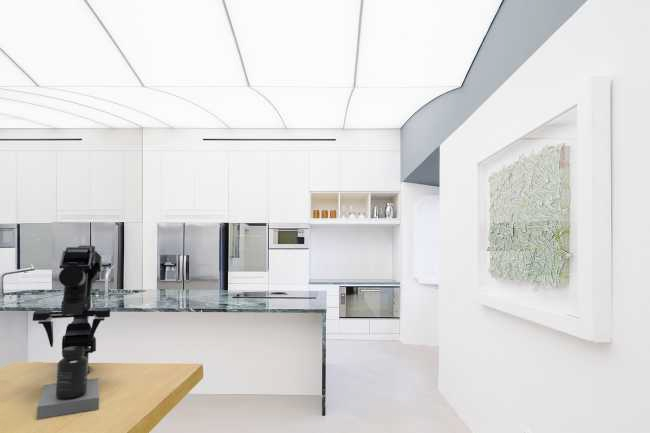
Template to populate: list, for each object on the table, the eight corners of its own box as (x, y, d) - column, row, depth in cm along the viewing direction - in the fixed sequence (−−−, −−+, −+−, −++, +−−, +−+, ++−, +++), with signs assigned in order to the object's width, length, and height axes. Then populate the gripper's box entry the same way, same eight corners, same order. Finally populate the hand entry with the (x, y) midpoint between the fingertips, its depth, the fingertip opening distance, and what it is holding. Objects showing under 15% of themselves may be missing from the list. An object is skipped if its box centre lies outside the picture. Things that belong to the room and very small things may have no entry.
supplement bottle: (92, 393, 108) (94, 347, 108) (64, 402, 102) (67, 353, 102) (77, 388, 111) (79, 343, 112) (50, 396, 105) (52, 349, 106)
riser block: (43, 396, 112) (44, 385, 113) (97, 388, 119) (98, 377, 119) (36, 419, 99) (37, 406, 99) (98, 409, 105) (99, 397, 105)
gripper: (32, 288, 109) (26, 349, 105) (111, 286, 118) (108, 343, 114) (38, 291, 118) (32, 347, 115) (111, 289, 127) (107, 342, 124)
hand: (70, 345), depth 117 cm, fingers open, 9 cm apart
